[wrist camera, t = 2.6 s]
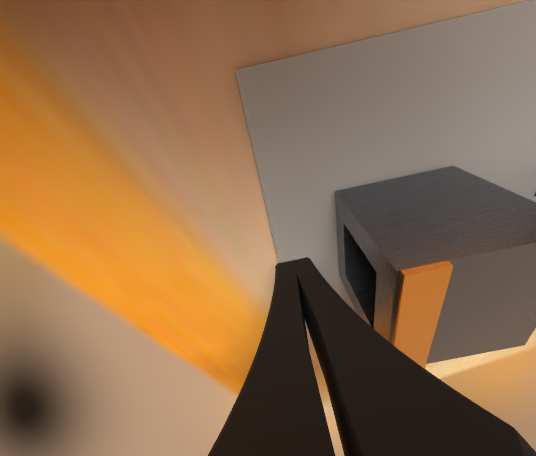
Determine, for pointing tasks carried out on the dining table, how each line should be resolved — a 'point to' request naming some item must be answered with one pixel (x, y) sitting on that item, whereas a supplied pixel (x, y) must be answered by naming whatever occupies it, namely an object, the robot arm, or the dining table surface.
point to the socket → (440, 262)
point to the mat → (390, 120)
